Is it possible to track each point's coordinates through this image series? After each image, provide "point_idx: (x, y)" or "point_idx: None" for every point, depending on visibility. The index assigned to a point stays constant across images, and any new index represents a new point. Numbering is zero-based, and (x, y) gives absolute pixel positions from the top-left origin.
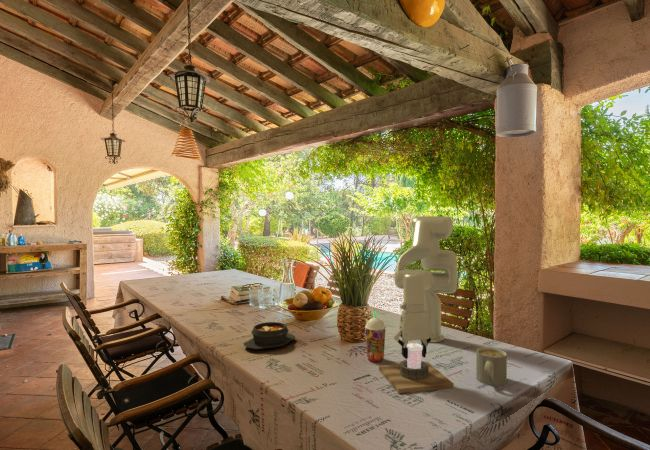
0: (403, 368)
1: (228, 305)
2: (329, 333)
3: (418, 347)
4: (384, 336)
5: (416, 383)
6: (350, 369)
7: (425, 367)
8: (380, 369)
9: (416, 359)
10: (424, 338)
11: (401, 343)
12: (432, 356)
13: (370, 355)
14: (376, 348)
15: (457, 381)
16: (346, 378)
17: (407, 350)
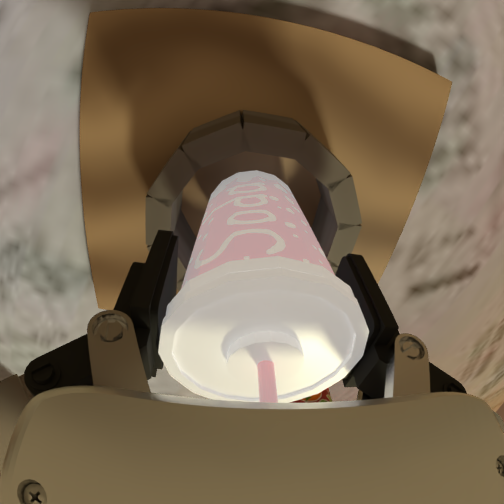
0: (358, 213)
1: None
2: None
3: (238, 316)
4: None
5: (324, 79)
6: (423, 339)
7: (198, 156)
8: None
9: (278, 214)
10: (137, 415)
11: (438, 380)
12: (62, 345)
13: (329, 394)
14: None
15: (39, 88)
16: (481, 285)
17: (373, 308)
